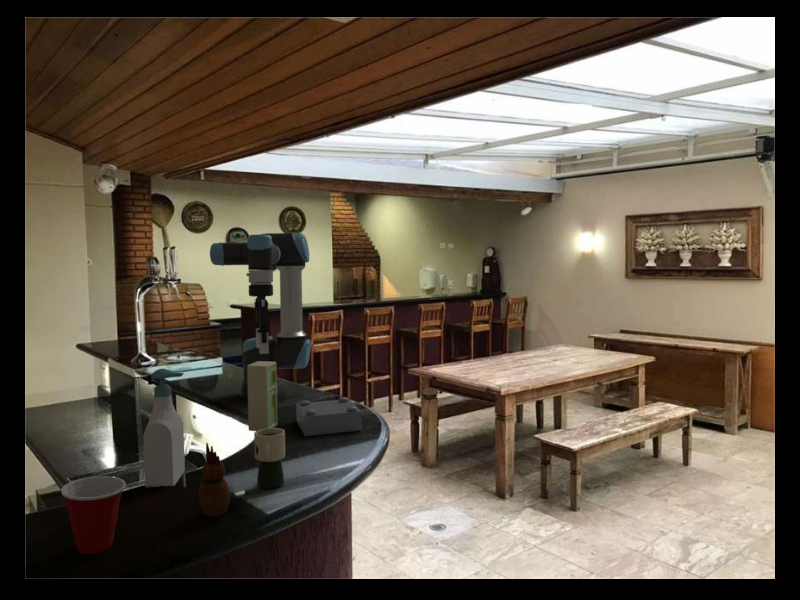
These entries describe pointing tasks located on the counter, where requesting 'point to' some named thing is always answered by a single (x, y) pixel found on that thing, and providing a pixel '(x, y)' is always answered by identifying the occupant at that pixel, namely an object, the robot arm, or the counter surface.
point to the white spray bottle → (163, 437)
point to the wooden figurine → (213, 486)
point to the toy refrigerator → (262, 395)
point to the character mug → (270, 456)
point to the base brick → (328, 416)
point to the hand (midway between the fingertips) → (262, 350)
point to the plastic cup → (93, 511)
